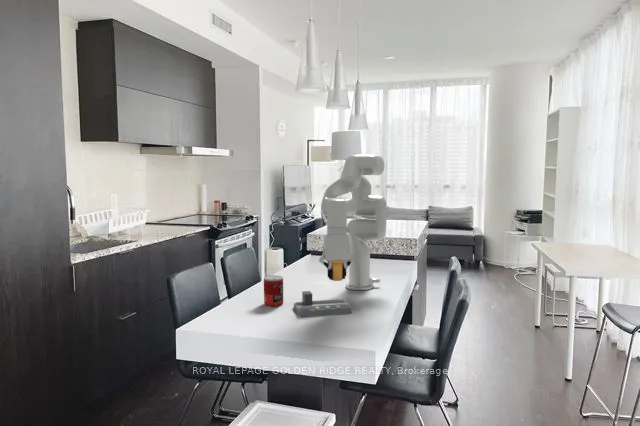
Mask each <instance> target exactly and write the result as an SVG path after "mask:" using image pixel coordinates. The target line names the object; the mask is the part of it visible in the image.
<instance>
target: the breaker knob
mask: <svg viewBox="0 0 640 426" xmlns="http://www.w3.org/2000/svg"><path fill="white" fill-rule="evenodd" d="M301 294H302V295H301V296H302V299H301V301H302V304H303V306H309V305H312V301H313V293H312V292H311V290H305V291H302V292H301Z"/></svg>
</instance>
